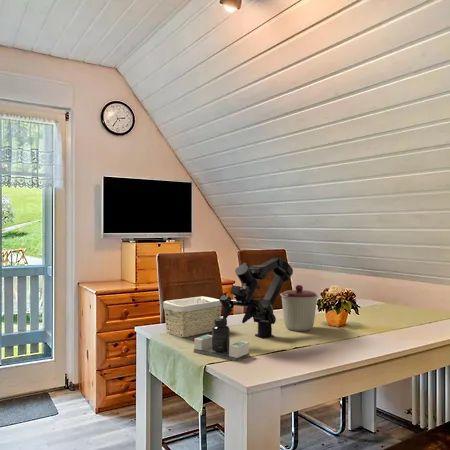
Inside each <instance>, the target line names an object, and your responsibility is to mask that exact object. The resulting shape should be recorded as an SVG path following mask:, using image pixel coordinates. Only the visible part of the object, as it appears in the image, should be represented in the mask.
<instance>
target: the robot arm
mask: <svg viewBox="0 0 450 450" xmlns="http://www.w3.org/2000/svg"><path fill="white" fill-rule="evenodd" d="M271 272H272V273H273V277H274V278H273V279H272V281H271V283H270V286H269V287H268V289H267V291H266V293H265V295H264V297H263V299H262V300H260V299H256V298H255V296H254V295H255V293H256V290H257V289H258V290H259V289H260V288H261V287H260V284H259V282H258V281H263V280H264V279H266V277H268V275H267V274H268V273H271ZM234 273H235V275H236V276H237V278H238V280H239V281H240V283H241V284H242V286H239V285H231V287H230V291H229V294H232V295H233V298H234V299H232V297H231V296H229V295H221V296H220V298H219V301H220V302H221V304H222V307H223V314H222V318H224V319H228V318H229V316H230V314H231V313H232V311H233V309H234V307H235V306H237V307H242V308H243V307H244V308H246V311H245V313H244V315H243V317H242V320H241V323H242V324H245V323H246V322H247V321H249V320H251V319H252V318H253V320H252V321H253V322H254V323H257V333H254V336H255V337H257V338H259V339H260V338H261V339H268V338H274V337H275V335H273V331H272V330H273V329H272V328H273V326H272V325H274V324H275V323H276V320H277V318H276V316H275V314H274V307H273V305H274V304H275V301H276V299H277V297H278V295H279V294H280V291H281V289H282V287H283V285H284V283H286V282H287V281H289V280H290V278H291V277H292V275H293V273H294V269H293V267H292V266H291V264H289V263H288V262H286V261H284V260H283V258H281V257H272V258H270V259H269V260H267V261H265V262H263V263H261V264H259V265H256V264H255V265H250V266H249V264H248V263H247V262H243V263H242V264H241V265H239V266H237V267H236V268H235V269H234Z"/></svg>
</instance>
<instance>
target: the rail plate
mask: <svg viewBox="0 0 450 450" xmlns="http://www.w3.org/2000/svg"><path fill="white" fill-rule="evenodd" d="M193 353H195V354H196V353H197V354H201V355H205V356H211V357H215V358H219V359H223V360H227V361H228V360H229V361H234V362H238V361H240V360H243V359H245V358H246V357H249V356H250V354H251V353H250V352H249V353H247V354H245V355H243V356H240V357H238V358H235V357H230V356H229V351H228V352H225V353H217V352H214V351H213V350H212V347H209V348H207V349H204V350H197V349H193Z"/></svg>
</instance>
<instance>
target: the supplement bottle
mask: <svg viewBox="0 0 450 450" xmlns="http://www.w3.org/2000/svg"><path fill="white" fill-rule="evenodd" d="M214 324H215V326H214V327H213V328H212V332H211V335H212V350H213V351H214V352H217V353H225V352H228V351H229V345H231V343H230V342H231V341H230V339H231V338H230V335H231V334H230V332H231V331H230V327H229V326H228V318H226V319H224V318H223V317H221V318H218V319H215V323H214Z"/></svg>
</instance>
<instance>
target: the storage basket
mask: <svg viewBox="0 0 450 450" xmlns="http://www.w3.org/2000/svg"><path fill="white" fill-rule="evenodd" d="M219 300H220V298H219V299H217V298H214V297H209V296H201V295H200V296H195V297H187V298H181V299H179V298H178V299H171V300H165V301H163V302H162V305H163V307H162V308H163V310H164V318H165V319H164V320H165V326H166V327H165V329H166V330H165V331H166V333H168V334H170V335H173V336H176V337H179V338H189V337H193V336H199V335H202V334H204V335H205V334H208V333H212V328H213V327H214V326H215V324H214V323H215V319H218V318H222V317H221V315H222V307H223V305H222V304H221V302H220V301H219Z"/></svg>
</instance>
